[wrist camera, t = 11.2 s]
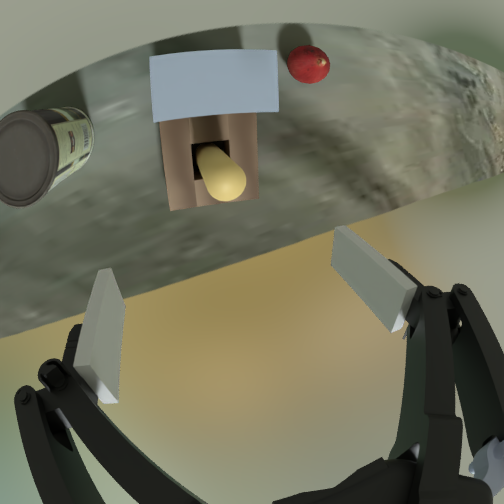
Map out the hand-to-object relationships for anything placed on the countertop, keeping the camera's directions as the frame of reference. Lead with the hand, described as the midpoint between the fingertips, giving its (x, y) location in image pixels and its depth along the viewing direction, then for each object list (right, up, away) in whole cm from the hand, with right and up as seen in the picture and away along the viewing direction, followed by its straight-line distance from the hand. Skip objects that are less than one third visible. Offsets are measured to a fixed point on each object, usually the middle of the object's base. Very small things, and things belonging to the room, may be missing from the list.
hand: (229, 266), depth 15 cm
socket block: (-5, +15, +22) cm, 27 cm away
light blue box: (-5, +23, +17) cm, 29 cm away
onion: (+8, +28, +18) cm, 35 cm away
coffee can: (-26, +17, +15) cm, 34 cm away
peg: (-5, +15, +22) cm, 27 cm away
